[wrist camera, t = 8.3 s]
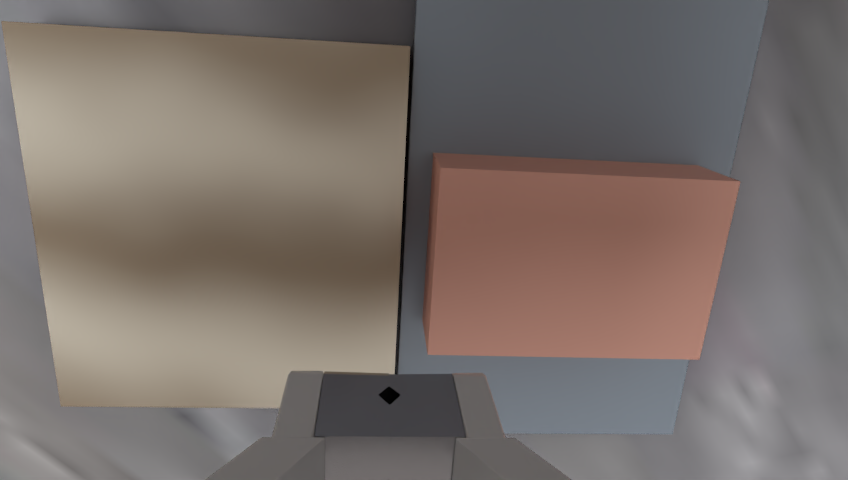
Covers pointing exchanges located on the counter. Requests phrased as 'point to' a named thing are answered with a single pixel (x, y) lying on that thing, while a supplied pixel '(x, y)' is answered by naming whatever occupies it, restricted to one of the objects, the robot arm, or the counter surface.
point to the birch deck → (210, 208)
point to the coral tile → (572, 257)
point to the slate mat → (570, 156)
